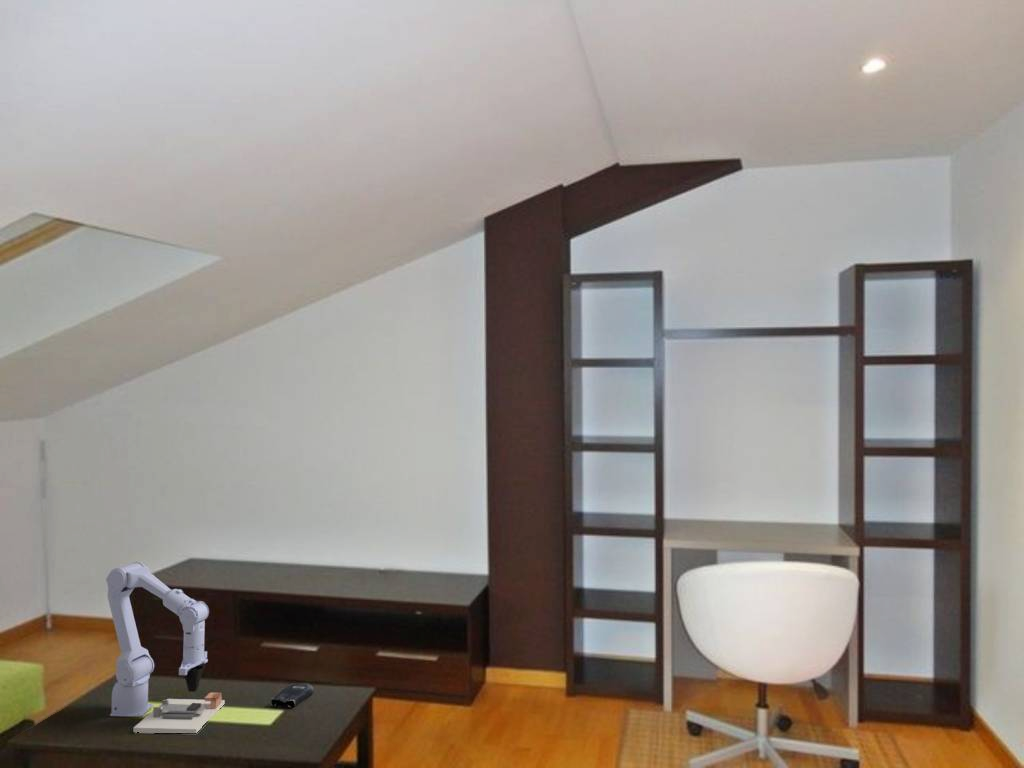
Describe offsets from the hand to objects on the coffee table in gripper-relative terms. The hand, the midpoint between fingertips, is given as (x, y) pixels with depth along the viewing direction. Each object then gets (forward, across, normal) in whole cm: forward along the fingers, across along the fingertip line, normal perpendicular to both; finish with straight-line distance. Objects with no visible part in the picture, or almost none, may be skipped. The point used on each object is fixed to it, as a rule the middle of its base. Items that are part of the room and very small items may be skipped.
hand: (192, 690), depth 224 cm
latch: (+6, +5, -4) cm, 9 cm away
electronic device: (+9, +16, -25) cm, 31 cm away
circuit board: (+8, 0, +3) cm, 9 cm away
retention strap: (+6, 0, +3) cm, 7 cm away
